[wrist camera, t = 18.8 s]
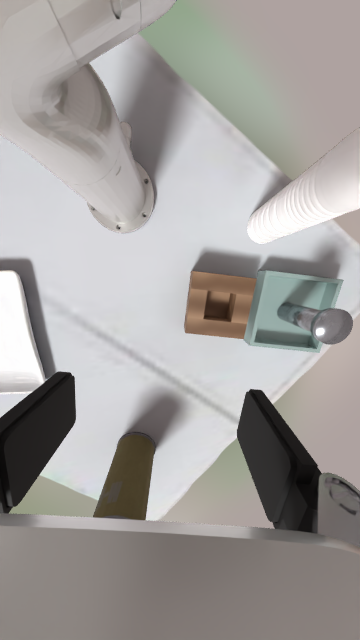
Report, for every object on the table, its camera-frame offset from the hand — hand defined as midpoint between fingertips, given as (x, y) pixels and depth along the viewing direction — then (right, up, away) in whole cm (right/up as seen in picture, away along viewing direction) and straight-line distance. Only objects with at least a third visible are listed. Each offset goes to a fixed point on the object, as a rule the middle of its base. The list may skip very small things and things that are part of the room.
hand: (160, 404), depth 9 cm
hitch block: (+9, +8, +29) cm, 32 cm away
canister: (-11, -31, +39) cm, 51 cm away
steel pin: (+24, +6, +29) cm, 39 cm away
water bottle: (+17, +22, +26) cm, 38 cm away
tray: (+25, +7, +30) cm, 39 cm away
